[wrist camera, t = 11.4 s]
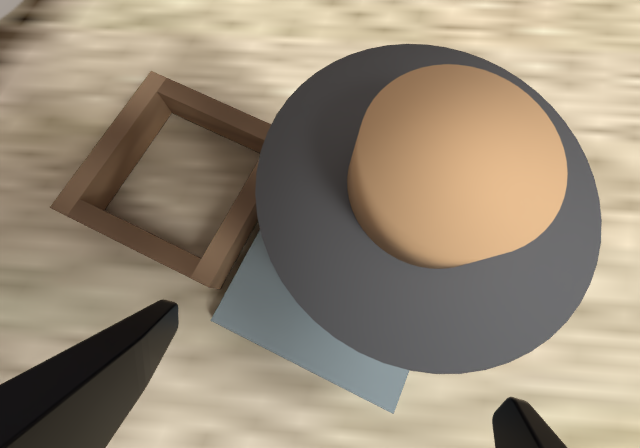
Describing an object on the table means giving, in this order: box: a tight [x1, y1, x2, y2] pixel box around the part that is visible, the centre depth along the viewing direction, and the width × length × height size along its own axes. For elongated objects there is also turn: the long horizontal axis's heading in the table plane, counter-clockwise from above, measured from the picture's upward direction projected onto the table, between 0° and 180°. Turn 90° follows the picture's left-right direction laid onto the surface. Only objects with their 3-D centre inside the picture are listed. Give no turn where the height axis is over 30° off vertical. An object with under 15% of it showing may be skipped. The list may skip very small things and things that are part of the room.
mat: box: [211, 230, 409, 414], centre depth 17 cm, size 10×10×1 cm
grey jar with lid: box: [255, 44, 601, 374], centre depth 10 cm, size 5×5×14 cm
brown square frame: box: [50, 71, 271, 289], centre depth 17 cm, size 9×9×2 cm
